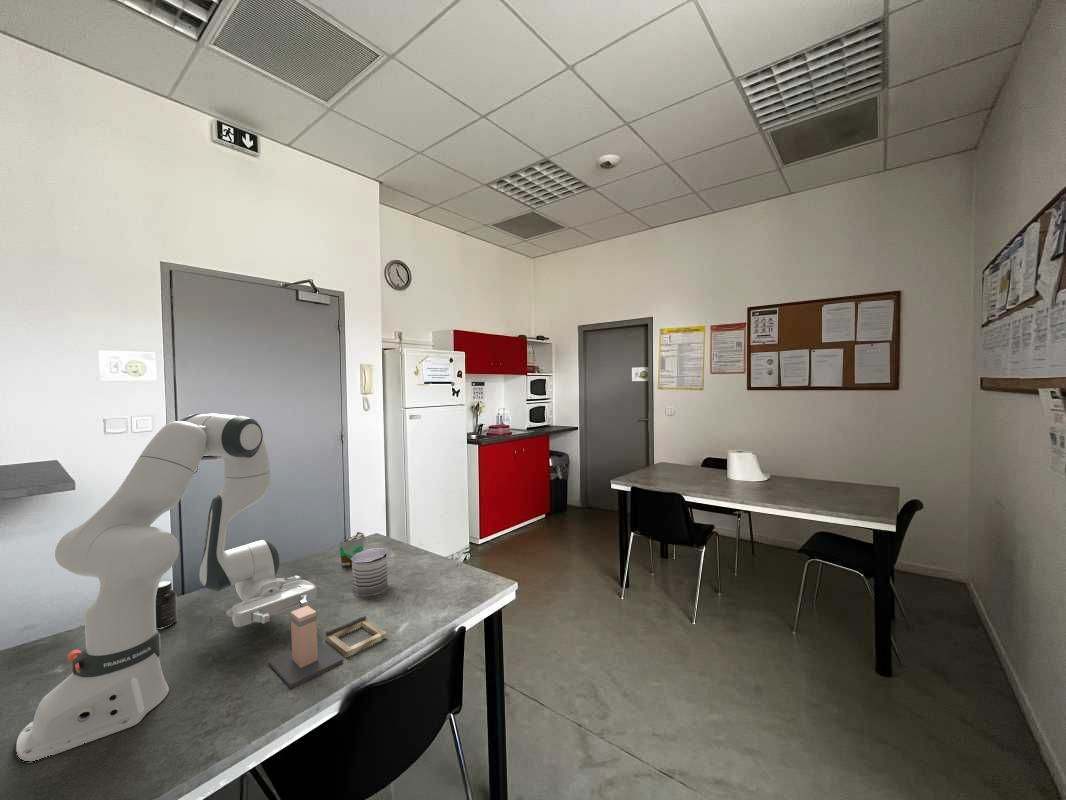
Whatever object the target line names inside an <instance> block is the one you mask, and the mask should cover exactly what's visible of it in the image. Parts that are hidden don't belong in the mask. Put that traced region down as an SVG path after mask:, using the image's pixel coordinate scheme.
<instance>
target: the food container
mask: <svg viewBox="0 0 1066 800" xmlns="http://www.w3.org/2000/svg"><path fill="white" fill-rule="evenodd" d="M338 542H339V543H338V549H339V552H340V562H341V568H350V567H349V566H351V567H352V560H351V558H352V557H353V556H354V555H356V554H357V553H359V552H362V551H364V544H365V542H366V536H365V534H364V533H363V532H362V531H361V532H360V531H357V532H356V534H355V535H353V536H350V537H348V538H346V540H344V541H338Z"/></svg>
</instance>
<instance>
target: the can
mask: <svg viewBox="0 0 1066 800" xmlns="http://www.w3.org/2000/svg"><path fill="white" fill-rule="evenodd" d="M388 552H389V550H387V549H386V548H384V547H377V548H368V549H366V550H365V549H364V550H363V551H362V552H359V553H357V554H356V555H354V556H353V557H352V558H351V560H352V566H351V569H352V574H351V575H352V576H351V577H352V594H353V595H355V594H356V595H355V596H357V595H358V596H357V597H371V595H373V596H375V595H374V594H376V595H379V594H382V593H383V592H384V591H386V590H387V589H388V567H387V566H388V565H387V564H388V561H387V560H388V559H387V557H388V556H387V553H388ZM386 588H387V589H386ZM385 589H386V590H385ZM382 591H383V592H382ZM381 592H382V593H381ZM378 593H379V594H378Z"/></svg>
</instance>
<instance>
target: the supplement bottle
mask: <svg viewBox="0 0 1066 800" xmlns="http://www.w3.org/2000/svg"><path fill="white" fill-rule="evenodd" d="M177 599H178V598H177V592H176V591H175V590H174V589H173V585H172V581H171V580H162V581H161V580H160V583H159V586H158V589H157V593H156V628H161V627H165V626H168V625H170V624H172V623H174V622H175V621H176V622H177V621H178V602H177V601H178V600H177Z"/></svg>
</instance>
